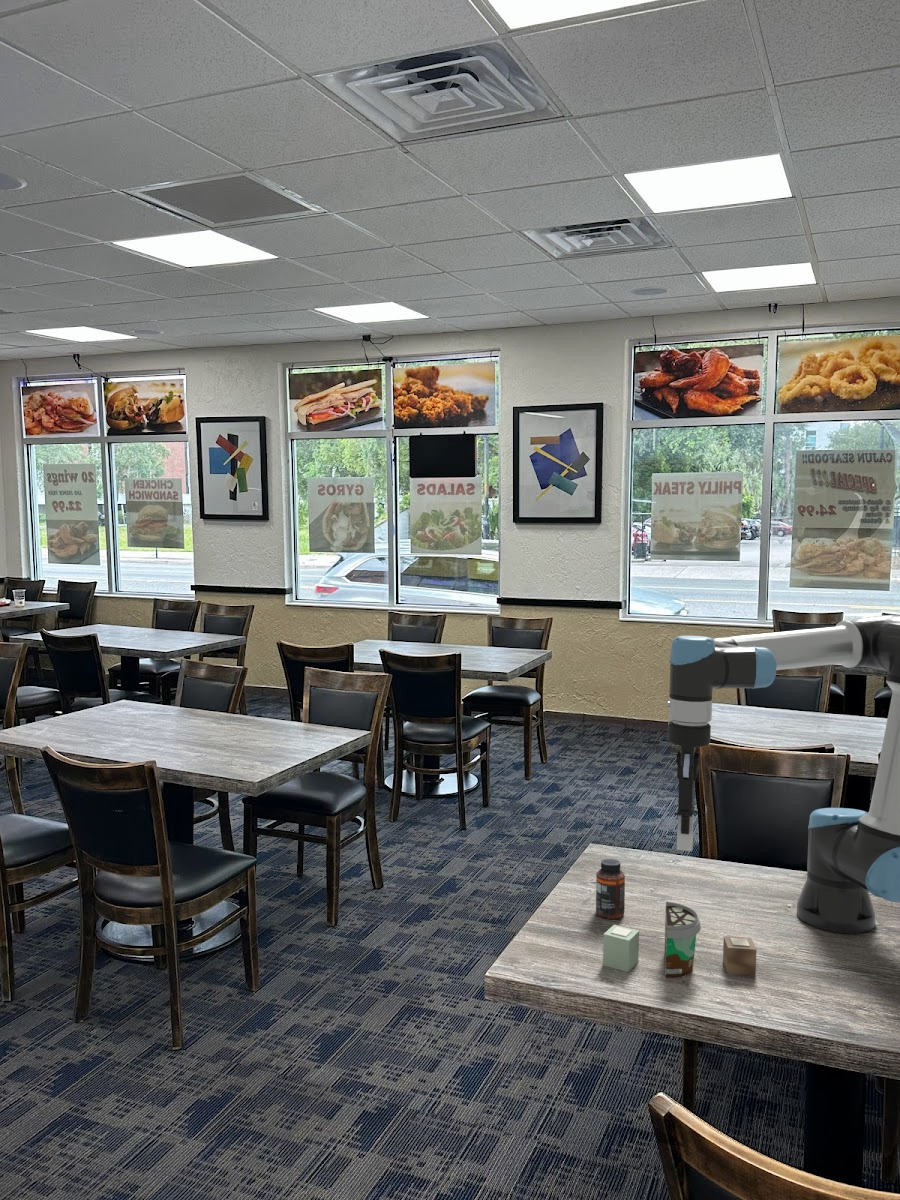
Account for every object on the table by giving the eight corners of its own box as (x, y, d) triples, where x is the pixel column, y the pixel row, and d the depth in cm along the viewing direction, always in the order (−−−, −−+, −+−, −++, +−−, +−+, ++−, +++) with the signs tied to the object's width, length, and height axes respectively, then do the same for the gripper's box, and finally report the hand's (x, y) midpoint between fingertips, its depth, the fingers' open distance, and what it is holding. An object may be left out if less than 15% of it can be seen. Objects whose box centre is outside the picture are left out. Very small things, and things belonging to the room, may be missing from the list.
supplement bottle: (623, 909, 200) (624, 857, 199) (625, 920, 194) (626, 867, 194) (594, 908, 201) (595, 856, 200) (596, 919, 195) (597, 866, 194)
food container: (701, 985, 167) (703, 930, 166) (665, 981, 168) (667, 926, 168) (697, 954, 179) (699, 903, 179) (664, 951, 180) (665, 900, 180)
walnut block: (750, 963, 176) (751, 936, 176) (755, 976, 171) (756, 948, 171) (722, 961, 177) (723, 935, 176) (727, 974, 172) (728, 946, 171)
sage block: (638, 962, 176) (639, 929, 176) (628, 972, 172) (629, 939, 171) (613, 955, 179) (614, 923, 178) (602, 965, 174) (603, 932, 174)
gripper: (670, 713, 178) (666, 836, 179) (665, 726, 165) (660, 858, 167) (712, 716, 176) (707, 840, 177) (709, 730, 163) (704, 863, 165)
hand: (684, 849), depth 172 cm, fingers closed
